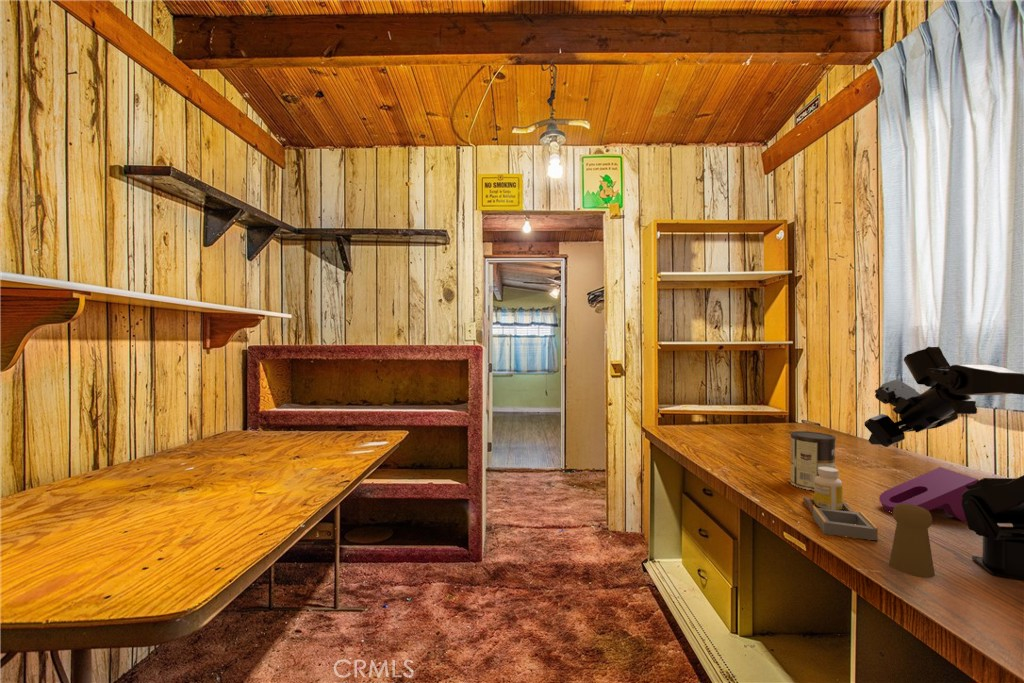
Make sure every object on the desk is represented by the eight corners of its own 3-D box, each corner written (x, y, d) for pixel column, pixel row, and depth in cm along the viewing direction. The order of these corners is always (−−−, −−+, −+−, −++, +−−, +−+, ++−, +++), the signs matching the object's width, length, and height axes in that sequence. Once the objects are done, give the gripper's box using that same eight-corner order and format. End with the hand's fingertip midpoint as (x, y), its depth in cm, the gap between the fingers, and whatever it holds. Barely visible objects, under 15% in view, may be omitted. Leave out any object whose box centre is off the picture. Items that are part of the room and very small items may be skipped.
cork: (912, 559, 82) (912, 499, 82) (945, 577, 76) (945, 512, 76) (880, 560, 82) (880, 500, 82) (910, 577, 76) (911, 513, 76)
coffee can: (830, 483, 125) (831, 432, 125) (839, 494, 116) (839, 440, 116) (787, 478, 130) (788, 429, 130) (792, 489, 121) (792, 436, 120)
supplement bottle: (836, 507, 107) (836, 466, 107) (846, 516, 102) (847, 473, 102) (810, 505, 109) (810, 464, 109) (819, 513, 104) (819, 471, 104)
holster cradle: (854, 518, 101) (854, 511, 101) (811, 513, 104) (811, 506, 104) (843, 506, 108) (843, 500, 108) (803, 501, 111) (803, 495, 111)
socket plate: (877, 541, 90) (877, 527, 90) (824, 534, 93) (824, 521, 93) (861, 523, 98) (861, 511, 98) (812, 517, 101) (812, 505, 101)
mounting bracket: (917, 546, 100) (995, 513, 99) (900, 512, 100) (978, 479, 99) (885, 528, 110) (955, 498, 109) (869, 497, 110) (940, 466, 109)
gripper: (937, 360, 98) (891, 395, 111) (867, 385, 95) (828, 418, 108) (984, 403, 92) (929, 435, 105) (910, 431, 89) (863, 460, 102)
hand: (886, 436), depth 105 cm, fingers open, 9 cm apart
